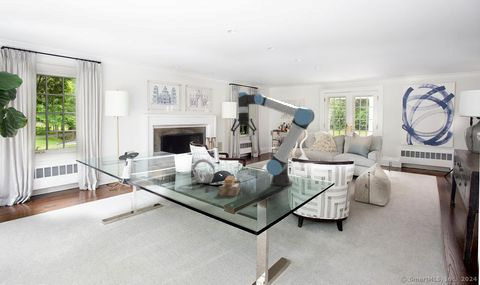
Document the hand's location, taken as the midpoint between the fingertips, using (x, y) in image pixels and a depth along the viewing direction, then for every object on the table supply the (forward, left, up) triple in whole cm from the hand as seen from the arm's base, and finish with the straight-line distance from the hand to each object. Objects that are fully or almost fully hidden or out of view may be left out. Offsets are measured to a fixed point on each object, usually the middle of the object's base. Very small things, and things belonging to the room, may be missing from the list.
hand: (243, 139), depth 206 cm
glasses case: (+8, +20, -32) cm, 38 cm away
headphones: (+34, -2, -36) cm, 49 cm away
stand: (+8, +20, -36) cm, 42 cm away
